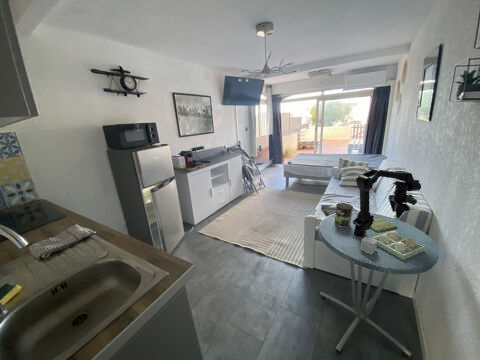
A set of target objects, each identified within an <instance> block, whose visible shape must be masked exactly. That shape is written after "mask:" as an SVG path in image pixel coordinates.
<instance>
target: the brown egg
mask: <svg viewBox="0 0 480 360" xmlns="http://www.w3.org/2000/svg"><path fill="white" fill-rule="evenodd" d="M406 238H407V239H406V240H405V245H406V247H408V248H410V249H412V250H414V248H415V244H416V243H417V242H416V240H415V239H414V238H412V237H406Z"/></svg>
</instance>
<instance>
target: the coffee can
mask: <svg viewBox="0 0 480 360" xmlns="http://www.w3.org/2000/svg"><path fill="white" fill-rule="evenodd" d="M353 209H354V206H353V205H351V204H349V203H345V202H343V203H342V202H340V203H339V202H338V203H336V209H335V213H334V214H335V215H334V225H335V226H337V227H339V228H345V229H346V228H347V229H348V228H350V227H351V224H352V223H351V222H352V217H353V211H354V210H353Z"/></svg>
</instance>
